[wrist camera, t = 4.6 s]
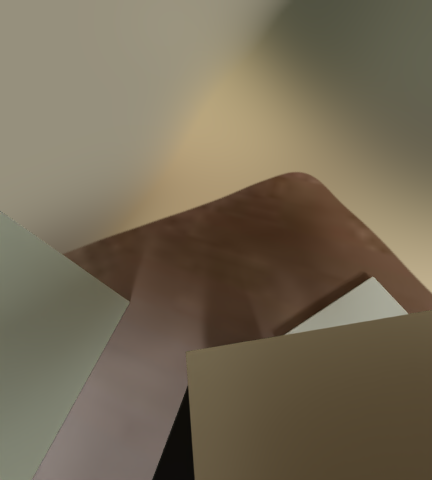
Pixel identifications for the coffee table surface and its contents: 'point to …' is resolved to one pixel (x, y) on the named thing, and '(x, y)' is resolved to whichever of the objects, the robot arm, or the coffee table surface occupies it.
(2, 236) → the sage screen
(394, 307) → the grey pad
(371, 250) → the coffee table surface
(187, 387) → the robot arm
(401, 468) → the birch block
